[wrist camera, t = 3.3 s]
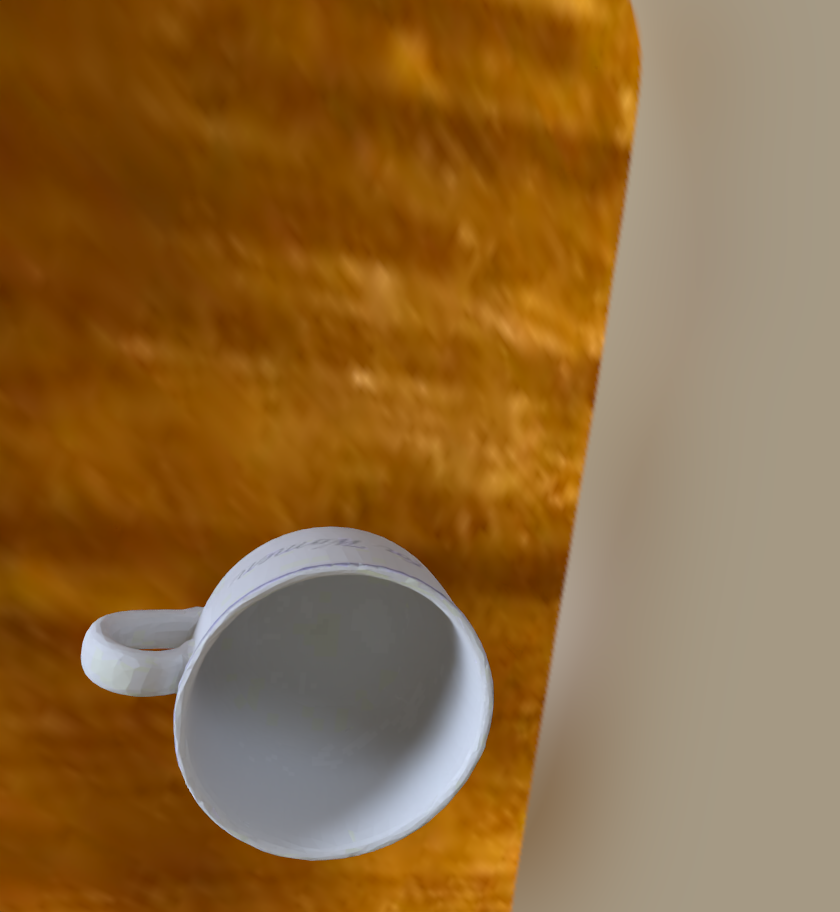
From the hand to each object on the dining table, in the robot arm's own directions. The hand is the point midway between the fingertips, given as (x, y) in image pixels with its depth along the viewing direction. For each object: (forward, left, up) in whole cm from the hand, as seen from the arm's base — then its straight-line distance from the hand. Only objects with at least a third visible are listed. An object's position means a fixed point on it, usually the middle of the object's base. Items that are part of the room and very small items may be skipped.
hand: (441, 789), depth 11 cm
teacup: (+3, +5, -23) cm, 24 cm away
